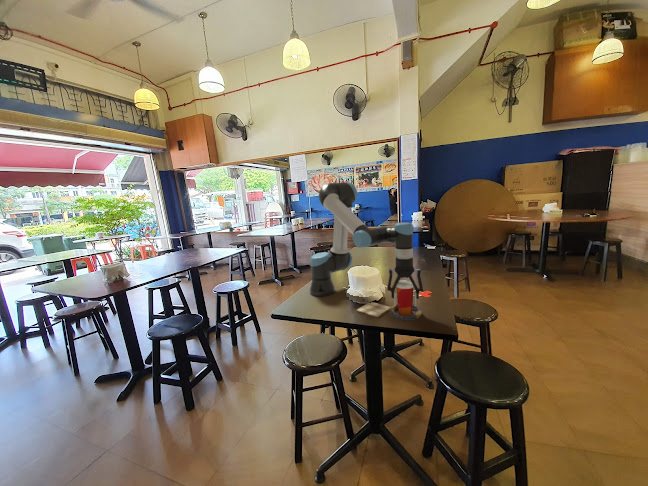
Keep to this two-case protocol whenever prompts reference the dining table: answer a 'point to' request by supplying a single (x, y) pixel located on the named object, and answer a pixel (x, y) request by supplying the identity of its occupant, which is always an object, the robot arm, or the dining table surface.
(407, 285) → the coffee cup
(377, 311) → the plate
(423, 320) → the dining table surface
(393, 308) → the collar
